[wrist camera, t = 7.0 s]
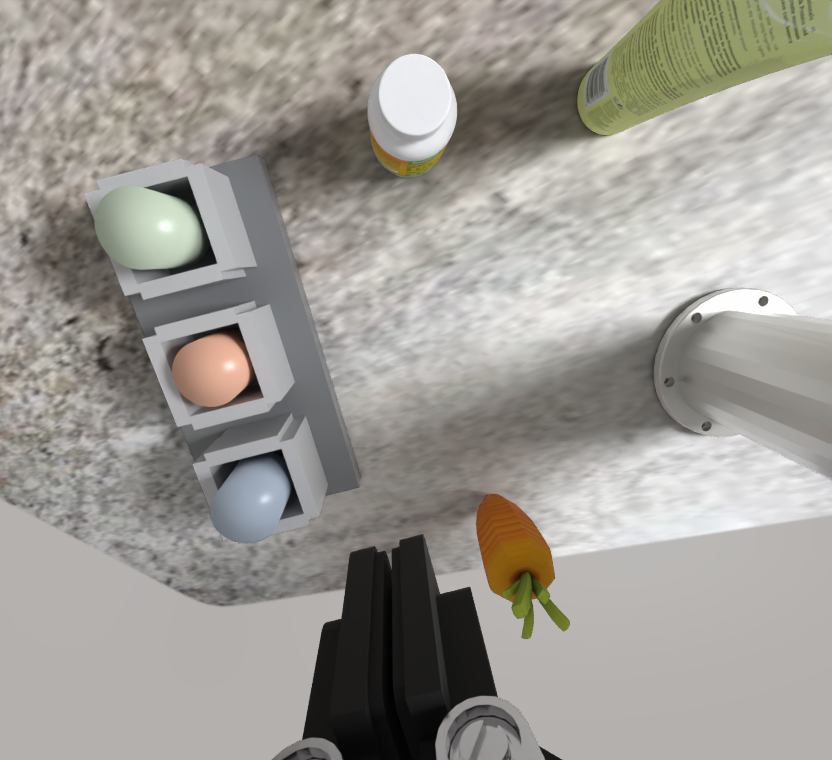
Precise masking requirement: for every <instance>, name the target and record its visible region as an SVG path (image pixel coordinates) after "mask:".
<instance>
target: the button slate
mask: <svg viewBox="0 0 832 760" xmlns="http://www.w3.org/2000/svg"><path fill="white" fill-rule="evenodd" d="M293 486H294V483H293V481H292V478H291V475H290V472H289V469H288V466H287V463H286V460H285V459H284V458H283V457H282V456H280V455H278V454H276V453H273V452H267V453H263V454H259V455H255V456H251V457H247V458H243V459H241V460H240V462H239V463H238V464H237V466H236V467H235V468H234V470H233V471H232V473H231V474H230V475H229V477H228V478H227V479H226V481H225V482H224V483H223V485H222V486H221V488H220V489H219V490H218V492H217V493H216V494H215V496H214V497H213V499H212V502H211V505H210V517H211V520H212V523H213V525H214V526H215V528H216V529H217V530H218V531H219V532H220V533H221V534H222V535H223V536H224V537H226V538H228V539H230V540H232V541H235V542H239V543H254V542H258V541H261V540H263V539H265V538H267V537H268V536H269V535H271V534H272V532H273V531H274V530H275V529H276V527H277V525H278V522H279V520H280V518H281V515H282V513H283V510H284V508H285V506H286V503H287V501H288V498H289V496H290V494H291V491H292V489H293Z"/></svg>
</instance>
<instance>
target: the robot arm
mask: <svg viewBox="0 0 832 760" xmlns="http://www.w3.org/2000/svg"><path fill="white" fill-rule="evenodd" d="M691 317H692V318H691ZM665 379H666V380H665ZM654 384H655V388H656V392H657V395H658V398H659V400H660V402H661V404H662V406H663V408H664V409H665V410H666V412H667V413H668V414H669V415H670V416H671V417H672V418H673V419H674V420H675V421H677V422H678V423H679V424H681V425H682V426H684V427H686V428H688V429H690V430H692V431H693V432H696V433H699V434H702V435H706V436H715V437H724V436H733V435H737V434H740V435H742V436H744V437H746V438H748V439H750V440H752V441H754V442H756V443H758V444H760V445H762V446H764V447H766V448H768V449H770V450H772V451H774V452H776V453H778V454H780V455H782V456H784V457H786V458H788V459H790V460H792V461H794V462H796V463H798V464H800V465H802V466H804V467H806V468H808V469H810V470H812V471H814V472H816V473H818V474H820V475H822V476H824V477H826V478H828V479H830V480H832V320H829V319H822V318H815V317H808V316H801V315H797V313H796V312H795V311H794V309H793V308H792V307H791V306H790V305H789V304H788V303H787V302H785V301H784V300H783V299H782V298H780V297H778V296H776V295H774V294H772V293H770V292H767V291H763V290H759V289H752V288H728V289H724V290H720V291H716V292H713V293H711V294H709V295H706V296H704V297H702V298H700V299H698V300H697V301H695V302H694V303H693V304H691V305H690V306H688V307H687V308H686V309H685V310H684V311H683V312H682V313H681V314H679V315H678V316H677V317H676V318H675V320H674V321H673V322H672V324H671V325H670V326H669V328H668V329H667V331H666V333H665V334H664V336H663V338H662V340H661V342H660V344H659V348H658V351H657V354H656V357H655V365H654ZM399 544H400V547H398V548H394V549H392V569H391V566H390V563H389V559H388V556H387V553H386V551H382V552H377V549H376V547H375V546H374V547H370V548H366V549H362V550H358V551H354V552H351V553H350V558H349V565H348V573H347V581H346V588H345V596H344V604H343V611H342V619H338V620H335V621H330V622H327V623H325V624H324V625H323V629H322V632H321V638H320V644H319V649H318V655H317V660H316V666H315V671H314V677H313V683H312V688H311V694H310V700H309V705H308V710H307V716H306V721H305V727H304V733H303V738H302V740H300V741H297V742H296V743H294V744H292V745H290V746H289V747H287V748H285V749H283V750H282V751H281V752H280V753H279V754H278V755H276V756H275V757H274V758H273V759H272V760H561V759H560V758H558V757H556V756H555V755H553V754H551V753H550V752H548V751H546V750H545V749H543V748H541V747H540V746H538V744H537V741H536V739H535V737H534V735H533V733H532V731H531V729H530V727H529V724H528V722H527V721H526V719H525V718H524V716H523V715H522V713H521V712H520V710H519V709H517V708H516V707H515V706H514V705H512V704H511V703H509V702H508V701H506V700H503V699H501V698H498V696H497V692H496V688H495V684H494V680H493V675H492V671H491V667H490V663H489V659H488V655H487V651H486V647H485V643H484V639H483V635H482V631H481V628H480V624H479V620H478V616H477V612H476V608H475V604H474V600H473V596H472V592H471V588H470V587H467V588H463V589H459V590H455V591H451V592H447V593H443V594H440V592H439V588H438V585H437V581H436V577H435V574H434V570H433V567H432V563H431V559H430V556H429V552H428V548H427V545H426V541H425V538H424V535H423V534H422V535H418V536H414V537H410V538H406V539H402V540H400V543H399Z"/></svg>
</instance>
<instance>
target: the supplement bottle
mask: <svg viewBox="0 0 832 760" xmlns="http://www.w3.org/2000/svg"><path fill="white" fill-rule="evenodd" d="M367 111H368V123H369V129H370V137H371V144H372V148H373V151H374V153H375V156H376V157H377V159H378V161H379V162H380V163H381V165H382V166H383V167H384V168H385V169H387V170H388V171H389V172H391V173H393V174H395V175H397V176H401V177H416V176H420V175H422V174H424V173H426V172H428V171H429V170H430V169H432V168H433V167H434V166H435V164H436V163H437V162H438V160H439V159H440V157H441V155H442V154H443V152H444V150H445V148H446V146H447V144H448V142H449V140H450V138H451V136H452V134H453V131H454V128H455V125H456V120H457V102H456V97H455V94H454V91H453V89H452V87H451V85H450V83H449V80H448V78H447V76H446V74H445V72H444V70H443V69H442V68H441V67H440V66H439V65H438V64H437V63H436V62H435V61H434V60H432V59H431V58H429V57H426V56H424V55H420V54H408V55H404V56H402V57H400V58H398V59H396V60H394V61H393V62H392V63H391V64H390V65H389V66H388V67H387V68H386V70H385V71H384V72H383V73H382V74H381V75H380V76H379V77H378V78H377V80H376V81H375V83H374V85H373V87H372V89H371V92H370V95H369V100H368V110H367Z"/></svg>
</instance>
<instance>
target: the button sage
mask: <svg viewBox="0 0 832 760" xmlns="http://www.w3.org/2000/svg"><path fill="white" fill-rule="evenodd" d="M94 223H95V231H96V235H97V238H98V240H99V242H100V244H101V246H102V247H103V249H104V250H105V251H106V253H107V254H108V255H109V256H110V257H111V258H113V259H114V260H115V261H116V262H118V263H120V264H122V265H124V266H126V267H129V268H132V269H138V270H147V269H168V268H185V267H189V266H192V265H194V264H196V263H198V262H199V261H200V260H201V259H202V258H203V257H204V256H205V255H206V253H207V251H208V249H209V246H210V240H209V237H208V234H207V231H206V228H205V225H204V222H203V220H202V217H201V214H200V211H199V209H198V208H197V207H196V206H195V205H193V204H192V203H190V202H189V201H187V200H184V199H181V198H178V197H174V196H171V195H167V194H164V193H160V192H157V191H153V190H150V189H146V188H143V187H138V186H122V187H119V188H116V189H114V190H112V191H110V192H109V193H107V194H106V195H105V196H104V197H103V198H102V200H101V201H100V203H99V205H98V207H97V209H96V213H95V221H94Z"/></svg>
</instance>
